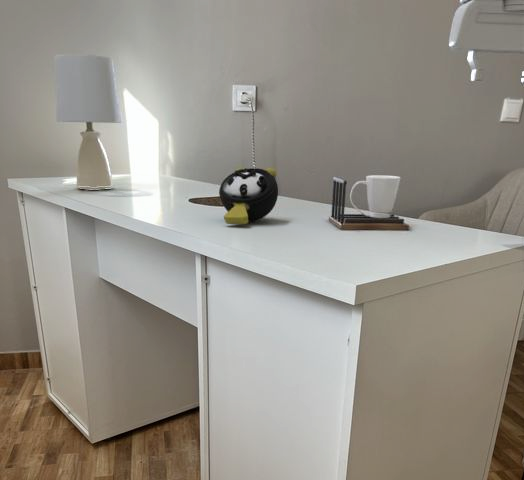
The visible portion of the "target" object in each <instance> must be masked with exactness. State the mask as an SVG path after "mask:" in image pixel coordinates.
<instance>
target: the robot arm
mask: <svg viewBox="0 0 524 480" xmlns="http://www.w3.org/2000/svg"><path fill="white" fill-rule="evenodd" d="M459 3H460V6H459V7H458V8H457V9H456V11H455V13H454V15H453V17H452V18H453V19H452V23H451V26H450V33H449V37H448V38H449V39H448V46H449V48H450V50H451V51H452V52H461V53H462V52H464V53H467V57H466V58H467V62H468V65H469V68H470V70H471V74H470V82H482V81H483V80H484V74H485V68H481V67H480V63H479V61H478V59H480V58H481V55H482V54H481V53H491V54H494V53H495V54H519V55H520V54H521V55H524V0H459ZM521 76H522V77H521V83H524V71H522V75H521Z"/></svg>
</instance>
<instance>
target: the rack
mask: <svg viewBox="0 0 524 480" xmlns="http://www.w3.org/2000/svg"><path fill="white" fill-rule="evenodd" d="M332 181H333V182H332V183H333V184H332V200H331V214H330V215H329V216H328V221H329V222H330V223H331V224H333V226H335V227H336V228H338V229H339V230H341V231H409V229H410V225H409V224H408V223H406V222H405V219H404V218H400V217H399V216H395V214H392V213H391V214H389V213H387V214H388V215H390V217H389V218H374V217H370V216H365V215H363V214H362V213H345V206H346V193H347V184H348V181H347V180H345V179H342V178H340V177H338V176H333V179H332Z"/></svg>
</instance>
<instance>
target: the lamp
mask: <svg viewBox="0 0 524 480" xmlns="http://www.w3.org/2000/svg"><path fill="white" fill-rule="evenodd" d="M53 68H54V70H53V71H54V86H55V87H54V89H55V90H54V91H55V109H56V110H55V112H56V123H57V122H58V123H59V122H60V123H85V124H86V126H85V127H86V130H85V131H81V132H79V135H80V136H81V138H82V140H81V142H80V145H79V149H78V154H77V163H76V189H77V188H81V189H105V188H111V187H113V188H114V182H113V177H112V171H111V168H110V163H109V160H108V156H107V153H106V149H105V148H104V145H103V144H102V142H101V140H100V136H101V132H99V131H95V129H94V123H98V124H99V123H101V124H104V123H105V124H106V123H107V124H121V123H122V120H121V114H120V113H121V112H120V105H119V104H120V103H119V98H118V90H117V83H116V74H115V67H114V59H113V58H111V57H107V56H103V55H102V56H101V55H93V54H76V53H74V54H73V53H65V54H56V55H55V54H54V56H53ZM110 185H113V186H111V187H98V188H90V187H97V186H110ZM78 186H90V187H78Z"/></svg>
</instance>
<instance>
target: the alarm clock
mask: <svg viewBox="0 0 524 480" xmlns="http://www.w3.org/2000/svg"><path fill="white" fill-rule="evenodd" d="M276 177H277V171H276V169H274V168H273V167H268V168H266V169H263V168H258V167H257V168H253V167H250V168H246V167H238V168H237V169H235V170H234V172H232V173H231V174H229V175H228V176H227V177H226V178H224V179H223V180H222V182H221V184H220V187H219V190H218V195H219V200H220V201H221V203H222V206H223V207H224V209H225V210H226V211H227V212H226V213H225V214H224V215H223V219H224V221H225V224H227V225H246V224H248V223H249V222H256V221H260V220H262V219H263V218H265V217H266V216H268V215H269V214H270V213H271V212H272V211H273V209H274V208H275V206H276V204H277V201H278V197H279V185H278V182H277V178H276Z"/></svg>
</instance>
